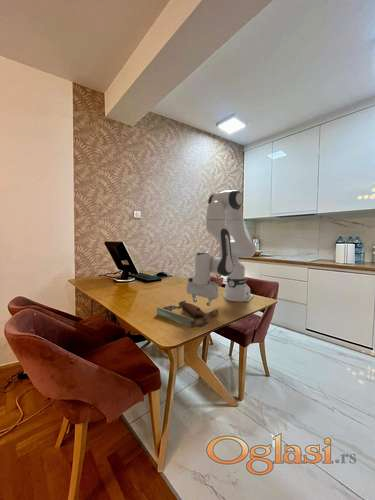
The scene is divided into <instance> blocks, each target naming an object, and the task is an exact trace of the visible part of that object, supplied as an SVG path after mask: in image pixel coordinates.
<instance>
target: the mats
mask: <svg viewBox="0 0 375 500" xmlns="http://www.w3.org/2000/svg"><path fill="white" fill-rule="evenodd" d="M178 308H179V305H172V310H174V309H178ZM209 323H210V321H208V320H207V321H203V322H202V321H201V322H199V323H198V324H196V326H195V327H199V328H202V327H204V326H206V325H207V324H209Z"/></svg>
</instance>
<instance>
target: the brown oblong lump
mask: <svg viewBox="0 0 375 500" xmlns="http://www.w3.org/2000/svg"><path fill="white" fill-rule="evenodd" d="M181 308H182V309H183V310H184V311H186V312H187V313H188V314H189V315H191V316H192V318H194V319H196V320H199V319H203V315H204V314H206V312H204V311H203V310H202V309H201V307H199V306H197V305H194V304H192V303H189V302H186V303H184V304H183V306H182V307H181Z"/></svg>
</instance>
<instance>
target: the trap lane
mask: <svg viewBox="0 0 375 500" xmlns="http://www.w3.org/2000/svg"><path fill="white" fill-rule="evenodd" d="M184 303H187V301H186V300H180V301H179V302H178V308H182V306H183V304H184ZM172 306H173V305H172V304H169V305H166V306H164V307H159V306H158V307H156V315H157V316H159V317H161V318H164V319H167V320H170V321H173V322H176V323H178V324H181V325H184V326H186V327H189V328H192V329H193V328H194V327H197V326H196V325H197V319H196V318H194V317H191V316H187V315H184V314H180V313H177V312H175V311H172V310H173V309H172ZM218 315H219V308H215V309H213V310H211V311H209V312H207V313H206V312H205V314H204V315H203V318H202V319H203V322H204V321H207V322H208V320H210V319H213V318H214V317H216V316H218Z"/></svg>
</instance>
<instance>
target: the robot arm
mask: <svg viewBox="0 0 375 500" xmlns="http://www.w3.org/2000/svg"><path fill="white" fill-rule="evenodd" d="M243 201H244V196H243V194H242V192H241V191H240V190H238V189H233V190H224V191H221V192H215V193H213V194H210V196H209V198H208V200H207V203H208V205H207V210H206V216H205V217H206V218H205V227H206V231H207V232H208V234H209V235H211V236H212V237H214V238H216V239H217V240H218V243H219V246H218V252H219V253H220V256H215V255H213V254H211V252H209V251H207V250H203V251H198V252H197V253H196V254H195V259H194V270H195V271H194V276H192V277H191V276H190V277H188V278H186V279H187V283H186V293H187V294H189V295H191V297H192V300H193V303H198V299H197V297H196V296H198V297H201V298H206V299H207V300H208V301H206V306H207V307H210V306H211V303H212V302H213V300H217V299H218V298H219V285H218V283H216V281H211V273H212V274H216V275H220V276H223V277H226V284H225V286H224V293H223V294H222V296H223V297H224V300H227V301H230V302H250V301H251V300H252V299H253V298H254V293H253V294H252V293H251V288H250V286H248V284H247V281H248V277H246V276H245V273H246V272H245V269H246V268H245V265H244V263H242V262H241V261H240V260H239V258H244V259H245V258H252V257H253V256H255V254H256V252H257V248H256V247H257V246H256V244H255V243H254V242H253V241H252V240H251V239H250V238H249V237H248V235H247V233H246V230H245V225H244V214H243V209H242V205H243ZM230 236H231V237H232V239H231V237H230Z"/></svg>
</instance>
